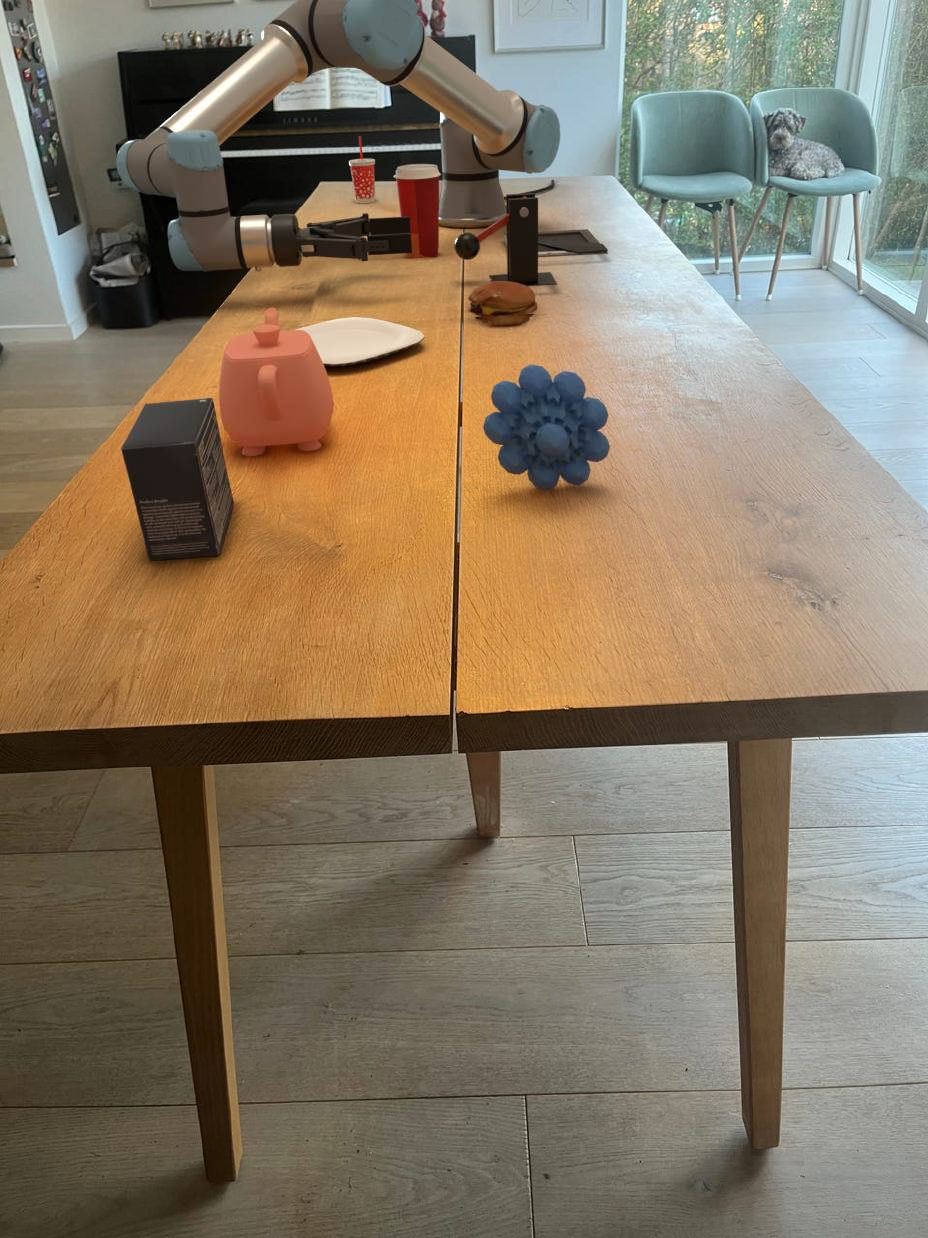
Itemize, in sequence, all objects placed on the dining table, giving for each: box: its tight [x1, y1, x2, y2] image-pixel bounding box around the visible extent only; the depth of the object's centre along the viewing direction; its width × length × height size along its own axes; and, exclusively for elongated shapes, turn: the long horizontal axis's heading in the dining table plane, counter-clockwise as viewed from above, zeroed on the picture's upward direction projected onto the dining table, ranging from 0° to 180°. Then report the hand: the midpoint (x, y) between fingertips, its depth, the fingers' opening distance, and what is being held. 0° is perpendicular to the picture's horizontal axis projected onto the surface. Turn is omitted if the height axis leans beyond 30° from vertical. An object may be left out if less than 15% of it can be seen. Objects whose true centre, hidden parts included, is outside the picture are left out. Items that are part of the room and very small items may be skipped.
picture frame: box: [504, 228, 609, 258], centre depth 180 cm, size 16×2×21 cm
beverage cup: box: [348, 135, 376, 204], centre depth 231 cm, size 6×6×14 cm
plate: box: [295, 316, 426, 367], centre depth 132 cm, size 18×18×2 cm
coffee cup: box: [393, 163, 442, 260], centre depth 177 cm, size 8×8×15 cm
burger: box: [467, 281, 538, 327], centre depth 142 cm, size 10×9×5 cm
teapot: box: [218, 307, 335, 457], centre depth 104 cm, size 20×12×12 cm, turn 8°
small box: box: [120, 397, 235, 561], centre depth 85 cm, size 11×6×10 cm, turn 5°
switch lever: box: [453, 196, 526, 261], centre depth 153 cm, size 13×4×4 cm, turn 93°
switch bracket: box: [488, 193, 558, 287], centre depth 154 cm, size 10×8×14 cm
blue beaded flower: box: [482, 363, 611, 491], centre depth 89 cm, size 12×7×12 cm, turn 95°
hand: (411, 233), depth 152 cm, fingers open, 13 cm apart
